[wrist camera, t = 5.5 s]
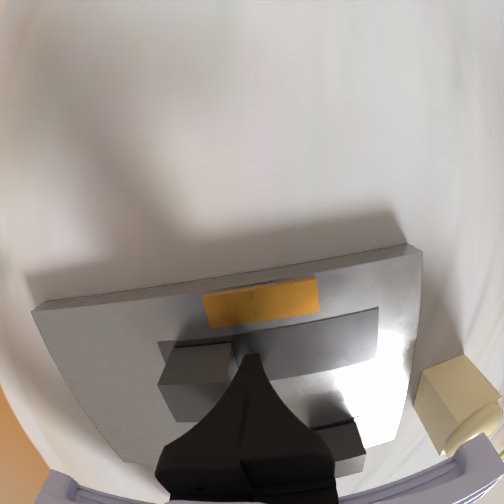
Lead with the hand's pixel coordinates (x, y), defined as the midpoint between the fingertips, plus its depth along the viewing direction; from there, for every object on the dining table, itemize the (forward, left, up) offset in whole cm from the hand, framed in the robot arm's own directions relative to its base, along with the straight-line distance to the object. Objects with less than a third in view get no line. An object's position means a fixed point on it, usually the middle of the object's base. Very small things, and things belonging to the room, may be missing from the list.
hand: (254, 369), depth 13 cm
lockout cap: (-7, -13, -2) cm, 15 cm away
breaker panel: (-3, +2, -2) cm, 5 cm away
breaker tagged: (0, +2, -1) cm, 3 cm away
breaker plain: (-8, -4, -1) cm, 9 cm away
